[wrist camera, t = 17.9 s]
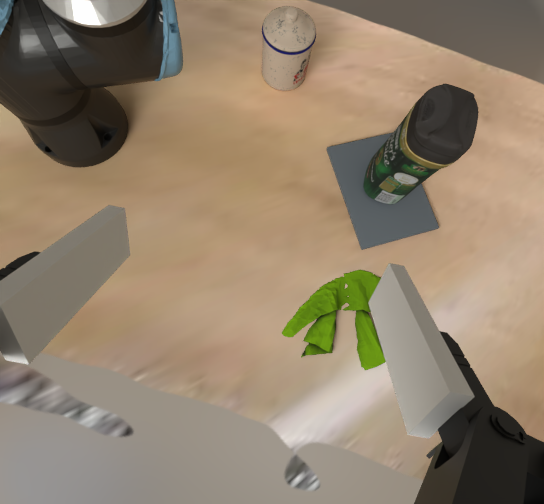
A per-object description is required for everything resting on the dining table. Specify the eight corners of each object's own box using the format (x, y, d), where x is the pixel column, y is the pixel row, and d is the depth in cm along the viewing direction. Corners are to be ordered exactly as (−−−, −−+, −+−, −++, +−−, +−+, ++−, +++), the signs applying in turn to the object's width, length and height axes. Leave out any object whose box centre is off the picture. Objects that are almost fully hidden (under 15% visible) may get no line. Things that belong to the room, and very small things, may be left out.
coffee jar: (369, 151, 52) (433, 67, 34) (409, 165, 52) (494, 89, 34) (356, 196, 50) (416, 133, 32) (397, 211, 50) (480, 157, 32)
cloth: (405, 276, 49) (413, 274, 47) (395, 409, 45) (403, 415, 42) (293, 254, 49) (295, 252, 46) (271, 388, 44) (272, 392, 42)
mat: (326, 149, 52) (327, 147, 52) (398, 132, 54) (400, 130, 53) (361, 249, 49) (362, 249, 48) (437, 228, 51) (439, 227, 50)
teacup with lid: (300, 98, 54) (313, 42, 43) (255, 85, 54) (256, 25, 42) (313, 49, 56) (329, -16, 45) (270, 36, 56) (275, -32, 45)
